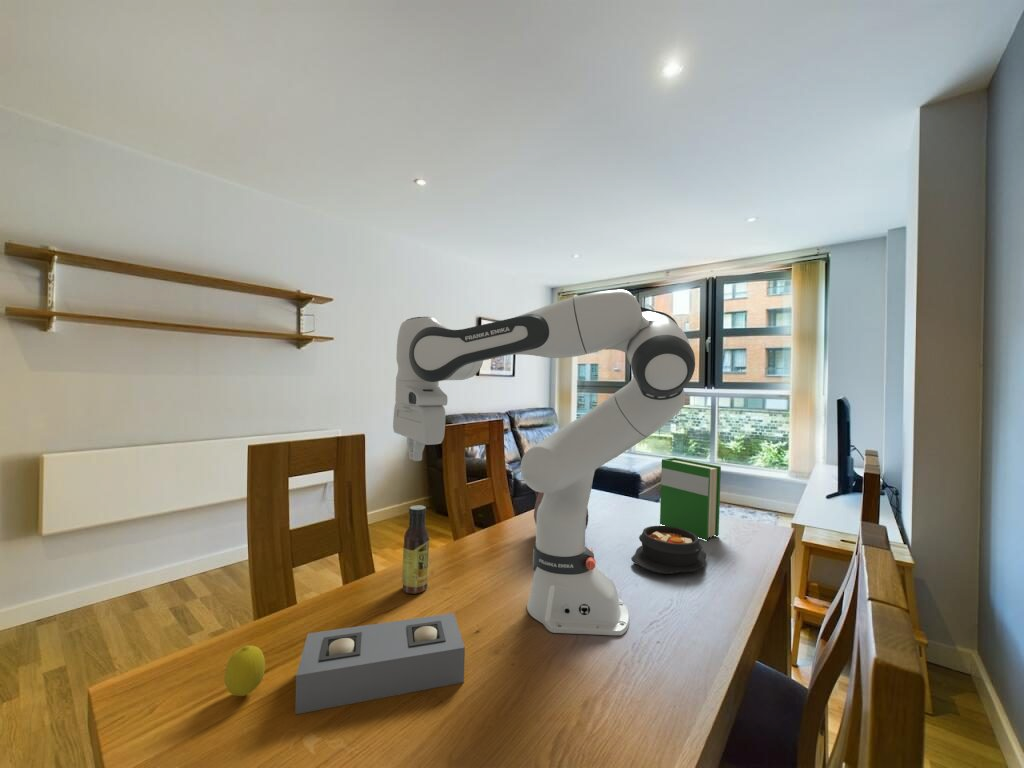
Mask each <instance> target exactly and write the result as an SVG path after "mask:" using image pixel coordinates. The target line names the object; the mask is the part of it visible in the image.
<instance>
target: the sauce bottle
mask: <svg viewBox="0 0 1024 768" xmlns="http://www.w3.org/2000/svg"><path fill="white" fill-rule="evenodd" d="M426 513H427V508H426V506H424V505H421V504H418V505H411V506H410V507H409V508H408V514H409V522H408V524H409V526H408V527H407V529H406V531H405V533H404V536H403V547H402V548H403V549H402V571H401V573H402V576H401V580H402V581H401V583H402V591H403V592H404V593H405V594H410V595H411V594H412V595H416V594H419V593H423V592H424V591H426V590H427V588H428V583H429V571H430V570H429V568H430V564H429V563H430V539H431V538H430V537H429V534H428V530H427V526H426Z"/></svg>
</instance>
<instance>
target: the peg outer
mask: <svg viewBox="0 0 1024 768" xmlns="http://www.w3.org/2000/svg"><path fill="white" fill-rule="evenodd" d="M350 652H354V641H353V640H352V639H350V638H341V639H338V640H335V641H333V642H332V643H331V644H330V645H329V656H331V655H337V654H344V653H350Z"/></svg>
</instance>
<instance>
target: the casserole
mask: <svg viewBox="0 0 1024 768" xmlns="http://www.w3.org/2000/svg"><path fill="white" fill-rule="evenodd" d="M638 539H639V541H640V542H641V546H639V547H638V548H636V550H635V552H634V554H633V556H632V557H631V558H630V559H631V561H632V562H633V563H634V564H635V565H638V566H639V567H641V568H642V569H644V570H648V571H650V572H654V573H656V574H657V573H658V574H663V575H668V574H673V573H674V574H675V573H686V572H689V573H691V572H696V571H698V570H701V569H703V568H704V567H705V565H706V561H705V559H706V558H707V554H706V552H705V551H704V550H702V549H703V544H702V543H701V542H700V540H699V539H698V537H697V536H696V535H695V534H693V533H692V532H689V531H687V530H684V529H680V528H676V527H670V526H660V525H651V526H647V527H645V528H644V529H643V531H642V532H641V534H640V535H639V537H638Z"/></svg>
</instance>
